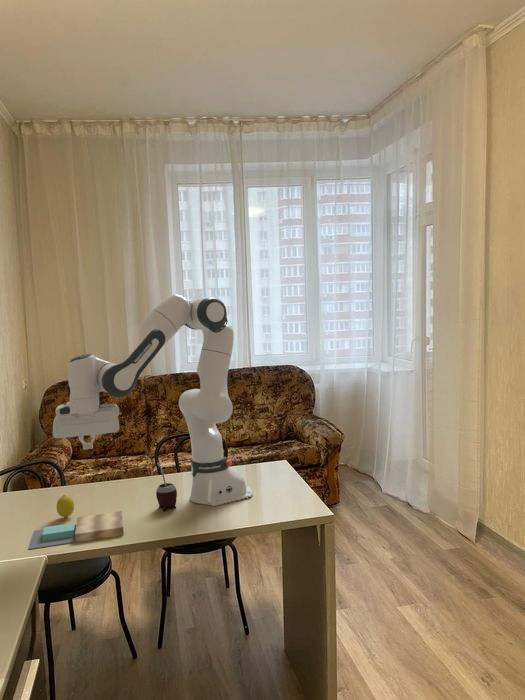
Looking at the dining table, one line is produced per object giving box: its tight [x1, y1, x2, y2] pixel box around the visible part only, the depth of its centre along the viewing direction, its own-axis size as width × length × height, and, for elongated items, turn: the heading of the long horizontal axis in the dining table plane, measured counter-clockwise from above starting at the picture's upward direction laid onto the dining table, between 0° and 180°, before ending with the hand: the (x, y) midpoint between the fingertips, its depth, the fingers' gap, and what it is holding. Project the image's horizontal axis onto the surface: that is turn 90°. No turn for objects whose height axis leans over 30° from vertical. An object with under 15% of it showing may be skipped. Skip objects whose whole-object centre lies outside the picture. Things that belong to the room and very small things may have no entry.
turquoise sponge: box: [42, 522, 76, 541], centre depth 167 cm, size 9×6×2 cm, turn 106°
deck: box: [75, 510, 125, 543], centre depth 170 cm, size 14×14×2 cm
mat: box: [28, 523, 76, 550], centre depth 166 cm, size 13×14×1 cm
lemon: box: [56, 494, 75, 519], centre depth 181 cm, size 6×6×8 cm
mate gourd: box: [155, 461, 178, 512], centre depth 186 cm, size 8×8×15 cm
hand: (88, 448), depth 172 cm, fingers closed
